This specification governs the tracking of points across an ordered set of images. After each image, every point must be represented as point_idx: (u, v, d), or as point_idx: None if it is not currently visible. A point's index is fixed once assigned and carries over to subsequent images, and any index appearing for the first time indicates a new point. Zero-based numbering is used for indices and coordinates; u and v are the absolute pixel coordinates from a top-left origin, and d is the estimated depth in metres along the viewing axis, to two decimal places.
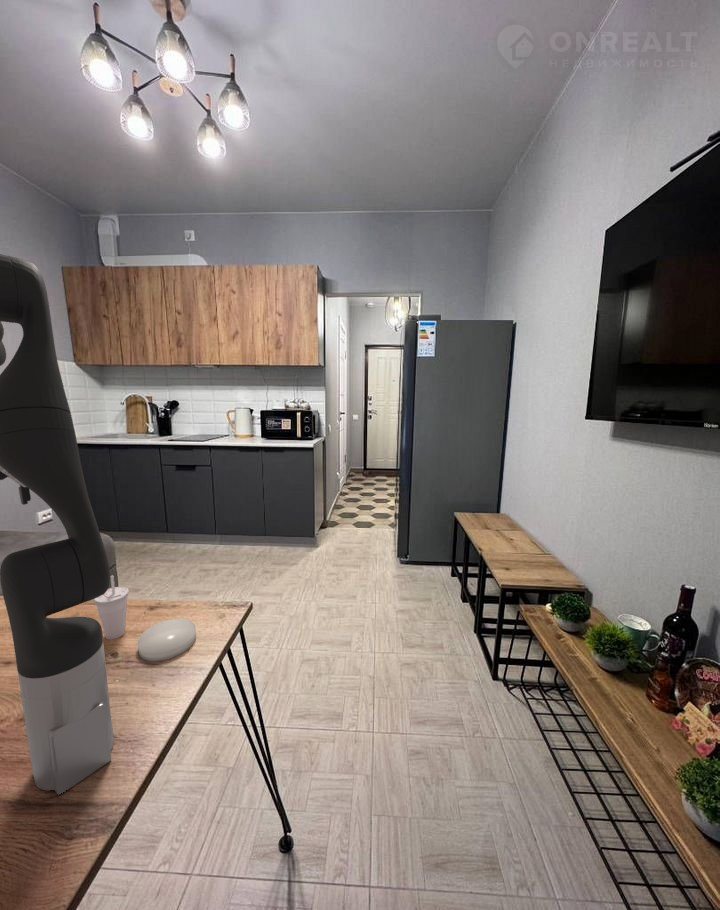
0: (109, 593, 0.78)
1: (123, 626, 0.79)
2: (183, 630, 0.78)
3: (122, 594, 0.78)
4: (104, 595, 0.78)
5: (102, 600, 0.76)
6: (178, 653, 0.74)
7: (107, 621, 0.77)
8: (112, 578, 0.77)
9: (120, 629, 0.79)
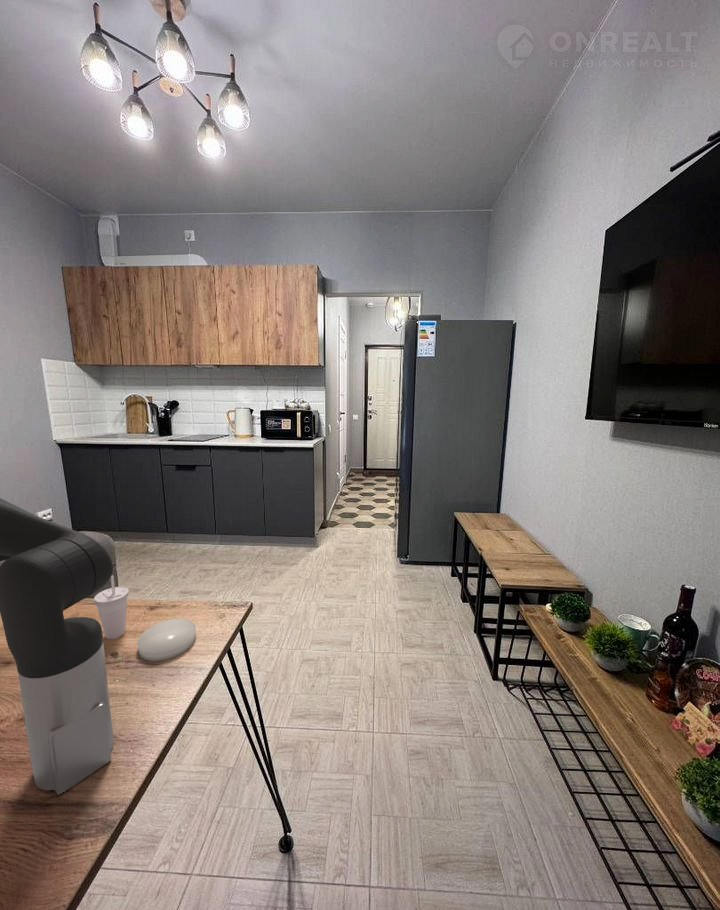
0: (109, 593, 0.78)
1: (123, 626, 0.79)
2: (183, 630, 0.78)
3: (122, 594, 0.78)
4: (104, 595, 0.78)
5: (102, 600, 0.76)
6: (178, 653, 0.74)
7: (107, 621, 0.77)
8: (112, 578, 0.77)
9: (121, 629, 0.79)
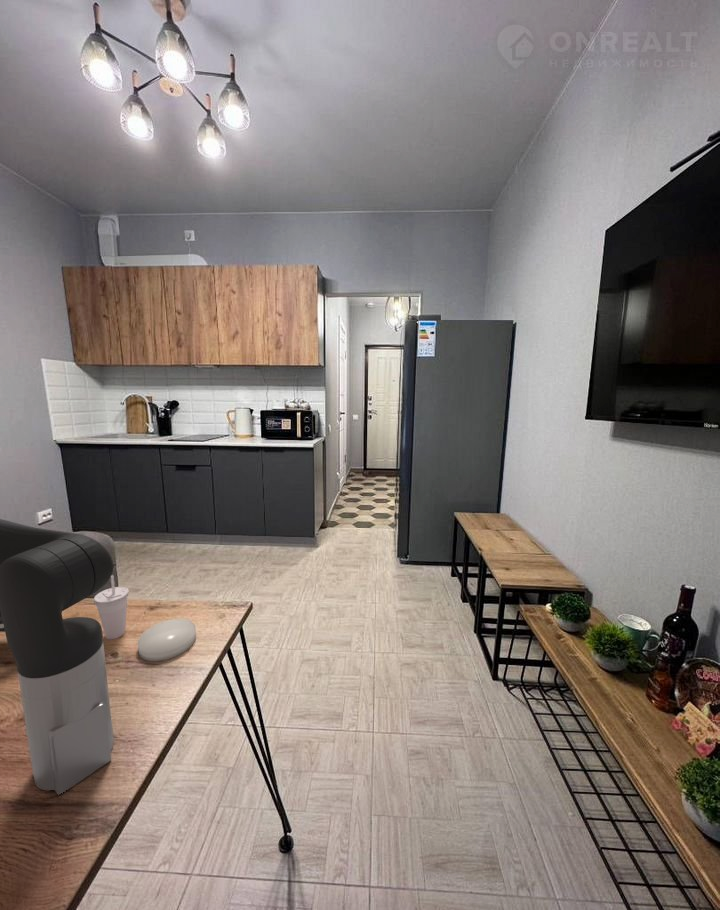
0: (109, 593, 0.78)
1: (123, 626, 0.79)
2: (183, 630, 0.78)
3: (122, 594, 0.78)
4: (104, 595, 0.78)
5: (102, 600, 0.76)
6: (178, 653, 0.74)
7: (107, 621, 0.77)
8: (112, 578, 0.77)
9: (121, 629, 0.79)
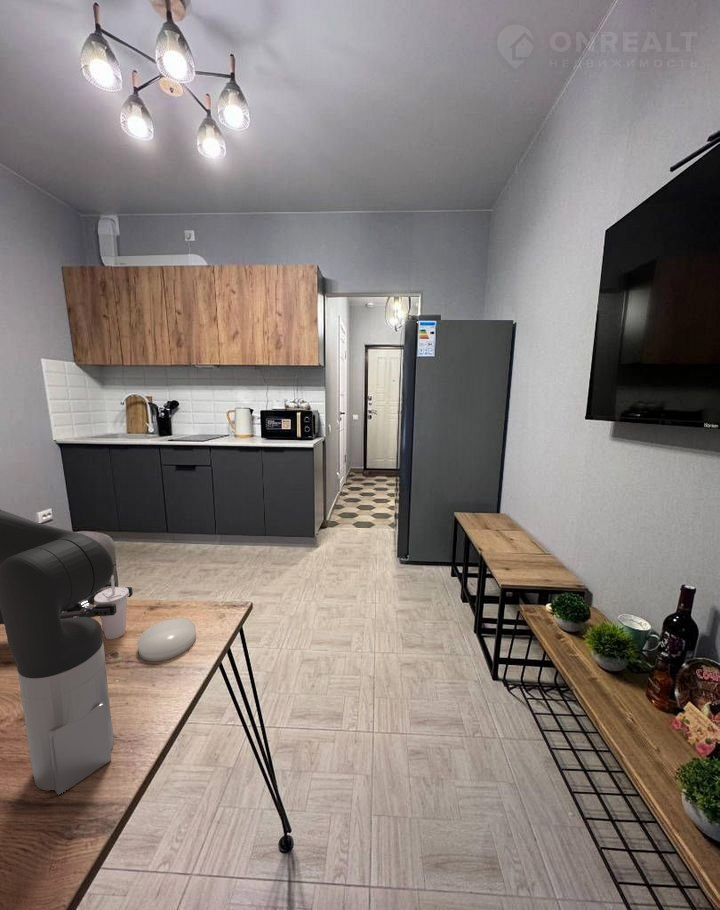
0: (109, 593, 0.78)
1: (123, 626, 0.79)
2: (183, 630, 0.78)
3: (122, 594, 0.78)
4: (104, 595, 0.78)
5: (102, 600, 0.76)
6: (178, 653, 0.74)
7: (107, 621, 0.77)
8: (112, 578, 0.77)
9: (121, 629, 0.79)
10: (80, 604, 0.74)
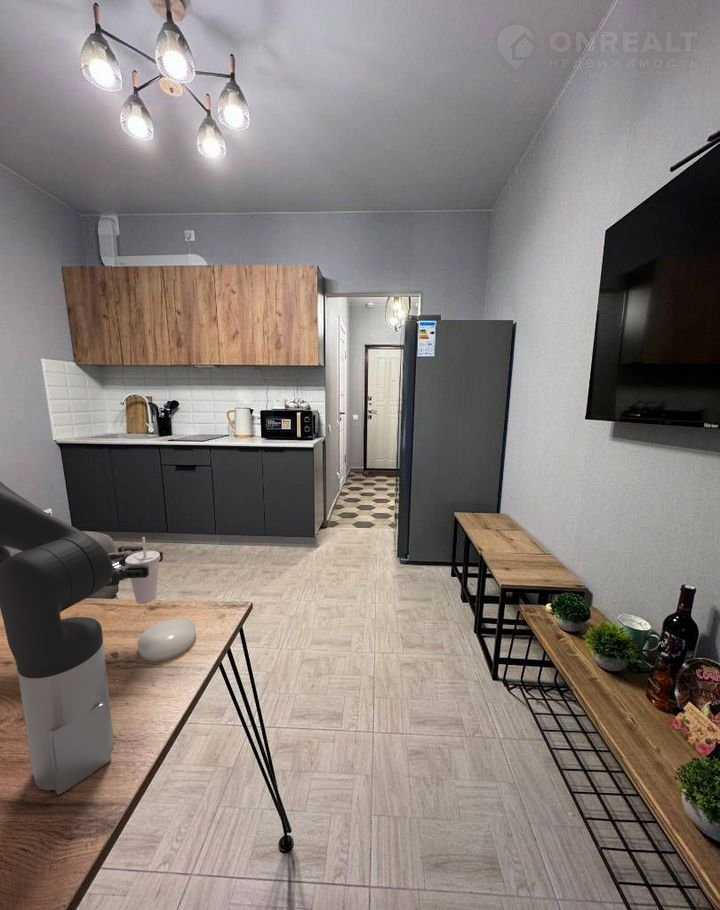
0: (140, 556, 0.75)
1: (154, 591, 0.76)
2: (183, 630, 0.78)
3: (154, 557, 0.75)
4: (135, 558, 0.74)
5: (134, 562, 0.72)
6: (178, 653, 0.74)
7: (138, 584, 0.73)
8: (144, 540, 0.74)
9: (152, 594, 0.75)
10: None
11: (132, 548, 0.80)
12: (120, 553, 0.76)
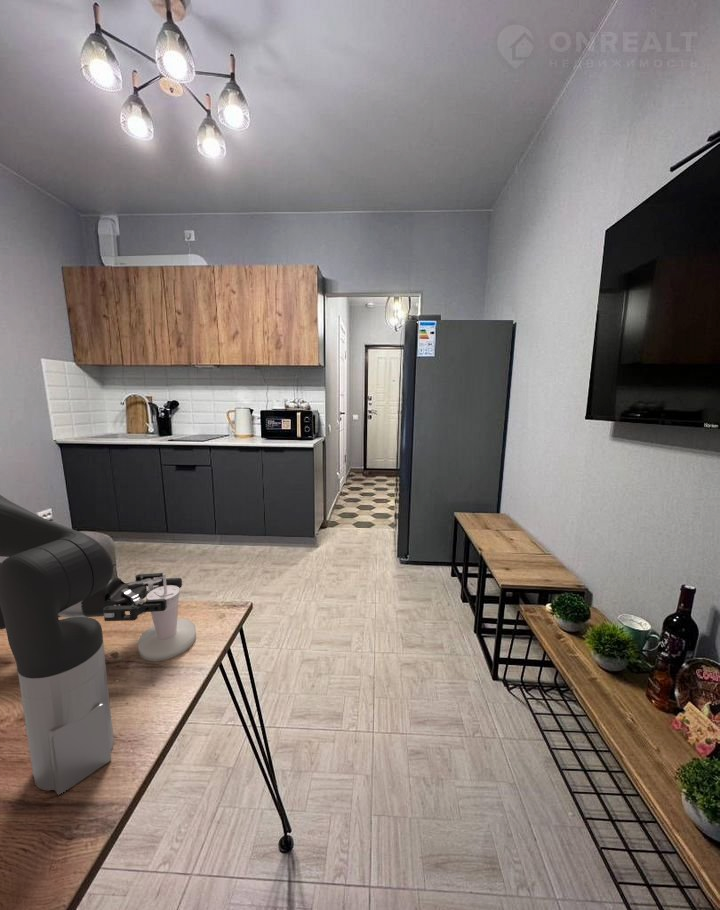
0: (161, 592, 0.75)
1: (174, 626, 0.76)
2: (183, 630, 0.78)
3: (174, 592, 0.75)
4: (156, 594, 0.75)
5: None
6: (178, 653, 0.74)
7: (160, 621, 0.74)
8: (164, 576, 0.75)
9: (173, 629, 0.76)
10: (131, 598, 0.71)
11: (151, 575, 0.81)
12: (141, 582, 0.77)
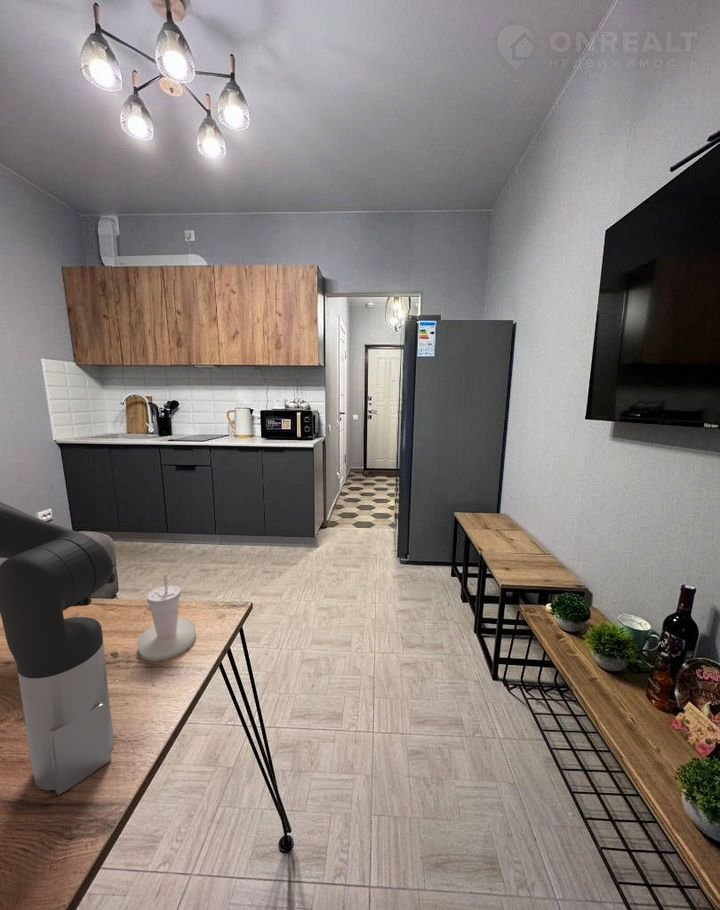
0: (161, 592, 0.75)
1: (175, 626, 0.76)
2: (183, 630, 0.78)
3: (175, 593, 0.75)
4: (157, 594, 0.75)
5: (156, 599, 0.73)
6: (178, 653, 0.74)
7: (160, 621, 0.74)
8: (165, 576, 0.75)
9: (173, 629, 0.76)
10: None
11: None
12: None
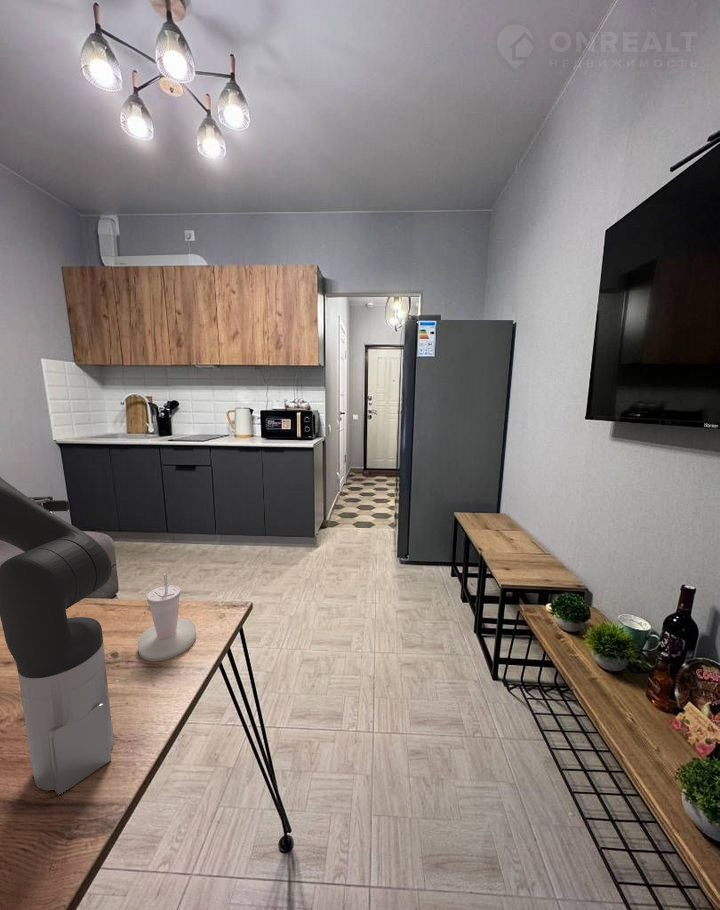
0: (161, 592, 0.75)
1: (175, 626, 0.76)
2: (183, 630, 0.78)
3: (175, 593, 0.75)
4: (157, 594, 0.75)
5: (156, 599, 0.73)
6: (178, 653, 0.74)
7: (160, 621, 0.74)
8: (165, 576, 0.75)
9: (173, 629, 0.76)
10: None
11: (37, 498, 0.75)
12: None
